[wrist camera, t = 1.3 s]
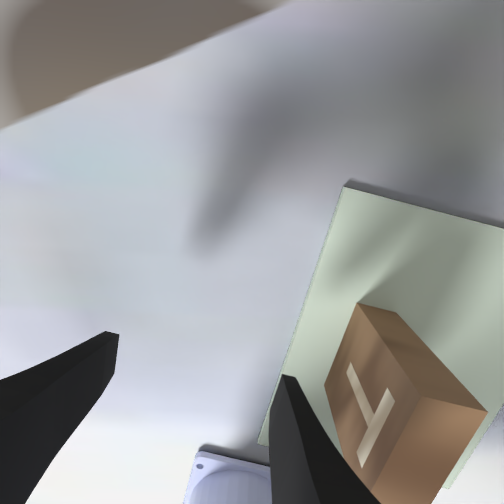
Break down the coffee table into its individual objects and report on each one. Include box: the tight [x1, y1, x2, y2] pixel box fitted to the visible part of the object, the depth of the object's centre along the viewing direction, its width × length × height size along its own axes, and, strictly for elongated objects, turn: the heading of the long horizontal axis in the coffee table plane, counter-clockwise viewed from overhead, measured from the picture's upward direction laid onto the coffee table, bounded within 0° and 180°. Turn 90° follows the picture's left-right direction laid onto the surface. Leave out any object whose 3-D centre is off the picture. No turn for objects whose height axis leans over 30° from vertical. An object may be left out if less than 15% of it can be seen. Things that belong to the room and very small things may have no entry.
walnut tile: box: [324, 303, 488, 504], centre depth 14 cm, size 6×2×7 cm, turn 166°
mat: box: [258, 187, 504, 489], centre depth 17 cm, size 18×14×1 cm
